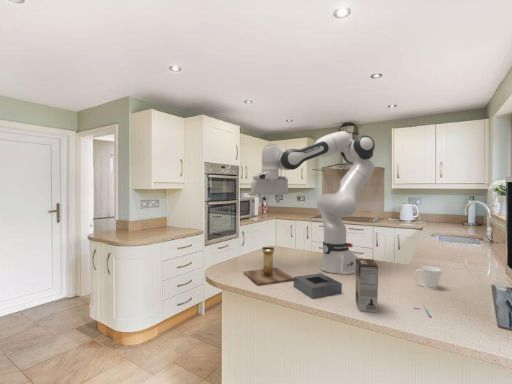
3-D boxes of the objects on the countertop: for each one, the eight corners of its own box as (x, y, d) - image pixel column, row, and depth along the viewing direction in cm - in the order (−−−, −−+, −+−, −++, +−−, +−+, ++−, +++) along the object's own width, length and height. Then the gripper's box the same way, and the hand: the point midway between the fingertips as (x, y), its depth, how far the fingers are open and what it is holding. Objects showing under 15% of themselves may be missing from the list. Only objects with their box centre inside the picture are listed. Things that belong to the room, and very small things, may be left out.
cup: (442, 291, 114) (442, 272, 114) (414, 287, 119) (414, 268, 119) (439, 286, 121) (439, 267, 121) (413, 282, 125) (413, 264, 125)
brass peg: (262, 272, 134) (262, 245, 134) (274, 273, 134) (274, 246, 133) (261, 276, 129) (261, 248, 128) (273, 277, 128) (273, 249, 128)
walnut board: (276, 269, 143) (276, 267, 143) (294, 280, 127) (294, 278, 126) (243, 273, 136) (243, 271, 136) (257, 285, 120) (257, 283, 120)
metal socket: (320, 282, 125) (320, 273, 125) (341, 293, 112) (341, 283, 112) (293, 286, 119) (293, 276, 119) (312, 298, 107) (312, 288, 106)
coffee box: (354, 300, 105) (355, 258, 105) (372, 301, 104) (373, 259, 103) (358, 311, 96) (359, 264, 96) (378, 312, 95) (379, 266, 94)
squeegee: (406, 297, 107) (421, 299, 106) (406, 299, 108) (421, 301, 106) (414, 314, 93) (431, 317, 91) (414, 317, 93) (431, 319, 91)
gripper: (284, 176, 152) (284, 202, 152) (249, 175, 144) (249, 202, 144) (290, 176, 146) (290, 202, 146) (254, 175, 138) (254, 203, 138)
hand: (269, 202), depth 145 cm, fingers open, 8 cm apart
